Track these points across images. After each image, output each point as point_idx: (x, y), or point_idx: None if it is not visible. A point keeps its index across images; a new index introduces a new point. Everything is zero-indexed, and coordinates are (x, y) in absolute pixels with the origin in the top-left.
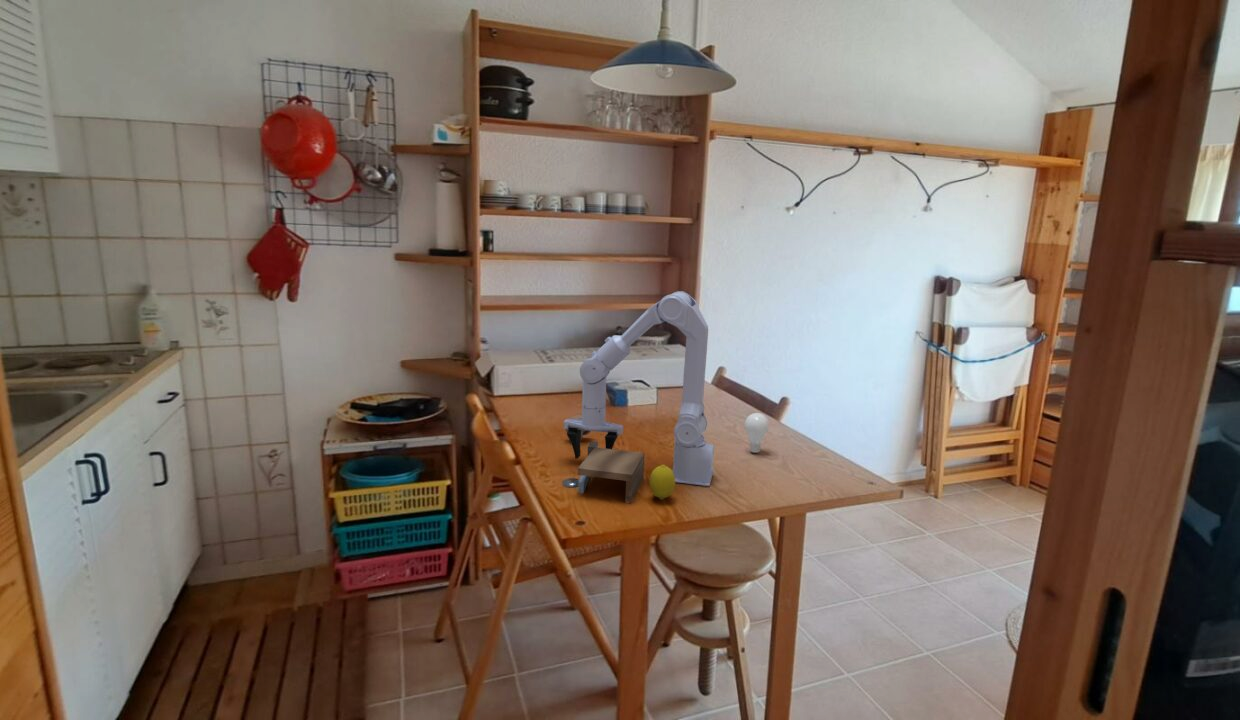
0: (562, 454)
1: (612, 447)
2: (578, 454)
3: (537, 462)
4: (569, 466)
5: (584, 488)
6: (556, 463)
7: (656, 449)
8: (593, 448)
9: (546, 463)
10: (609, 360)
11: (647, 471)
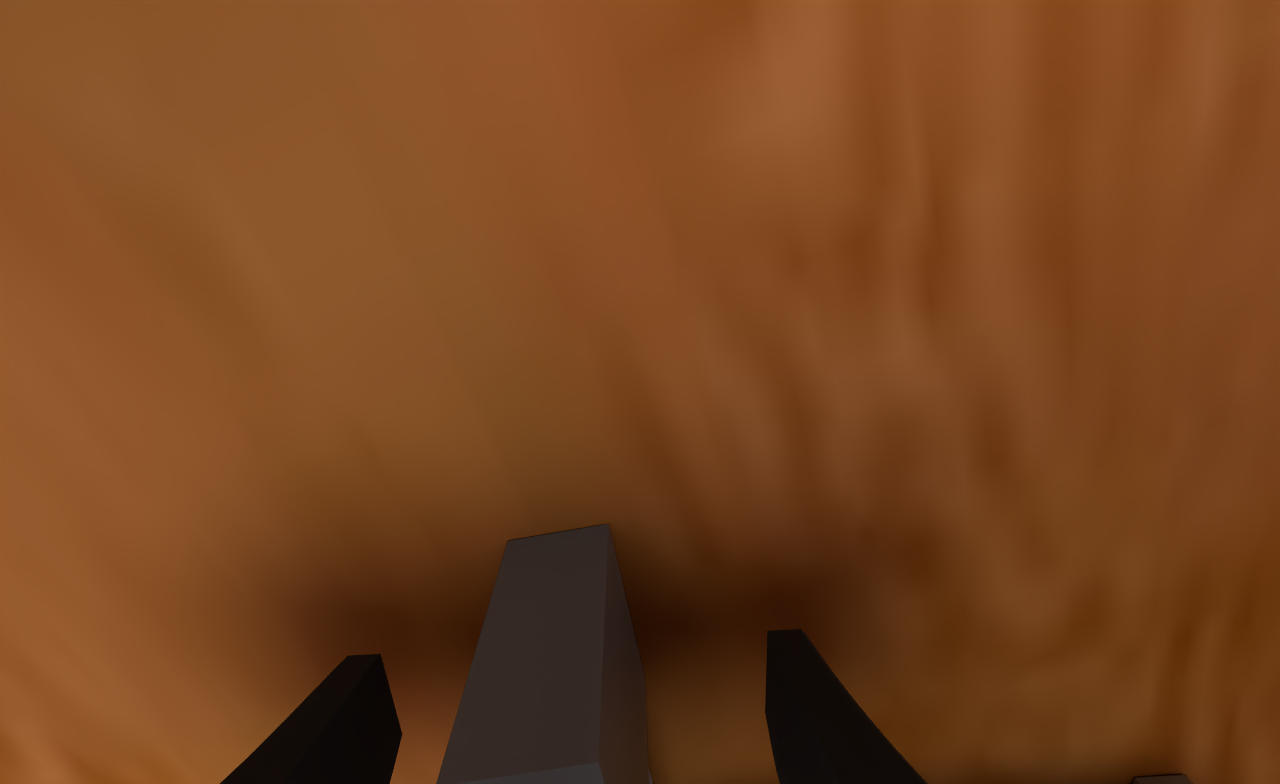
0: (63, 471)
1: (905, 773)
2: (379, 751)
3: (10, 766)
4: None
5: None
6: (205, 728)
7: None
8: None
9: (112, 759)
10: None
11: (1249, 601)
